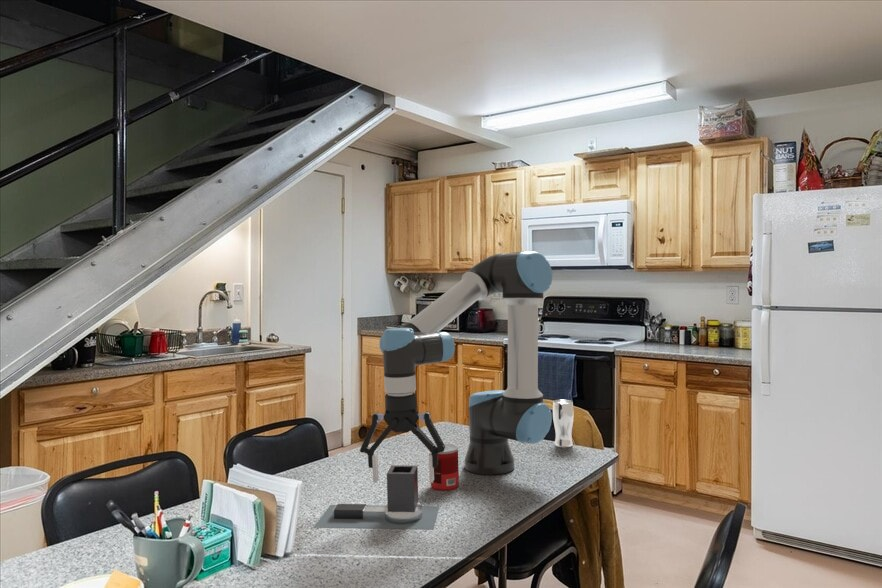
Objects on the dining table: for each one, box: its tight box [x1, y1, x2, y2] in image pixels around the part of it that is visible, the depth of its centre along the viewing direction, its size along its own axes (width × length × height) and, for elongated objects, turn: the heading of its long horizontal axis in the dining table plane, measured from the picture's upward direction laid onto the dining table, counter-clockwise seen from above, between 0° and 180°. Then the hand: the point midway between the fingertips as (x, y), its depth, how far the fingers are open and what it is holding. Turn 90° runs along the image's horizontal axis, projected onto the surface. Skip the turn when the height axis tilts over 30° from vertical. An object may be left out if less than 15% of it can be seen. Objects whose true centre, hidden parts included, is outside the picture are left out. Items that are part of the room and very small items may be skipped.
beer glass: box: [552, 399, 575, 449], centre depth 202 cm, size 7×7×15 cm
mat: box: [312, 504, 440, 531], centre depth 143 cm, size 28×14×1 cm, turn 84°
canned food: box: [430, 443, 460, 492], centre depth 163 cm, size 8×8×11 cm
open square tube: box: [386, 464, 419, 512], centre depth 142 cm, size 6×6×9 cm
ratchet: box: [332, 501, 423, 524], centre depth 143 cm, size 22×9×6 cm, turn 85°
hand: (403, 480), depth 142 cm, fingers open, 13 cm apart
